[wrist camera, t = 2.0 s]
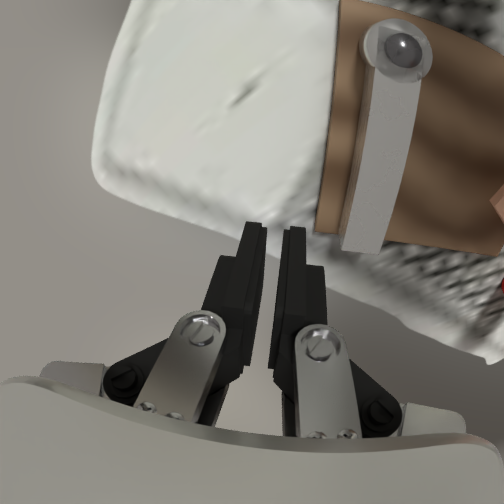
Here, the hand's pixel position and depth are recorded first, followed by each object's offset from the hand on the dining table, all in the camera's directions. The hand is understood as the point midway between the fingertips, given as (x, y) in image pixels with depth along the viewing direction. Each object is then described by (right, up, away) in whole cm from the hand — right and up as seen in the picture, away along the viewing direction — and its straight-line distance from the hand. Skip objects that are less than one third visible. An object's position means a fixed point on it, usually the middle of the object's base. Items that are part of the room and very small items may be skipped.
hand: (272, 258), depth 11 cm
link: (+10, +10, +11) cm, 17 cm away
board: (+18, +10, +11) cm, 23 cm away
